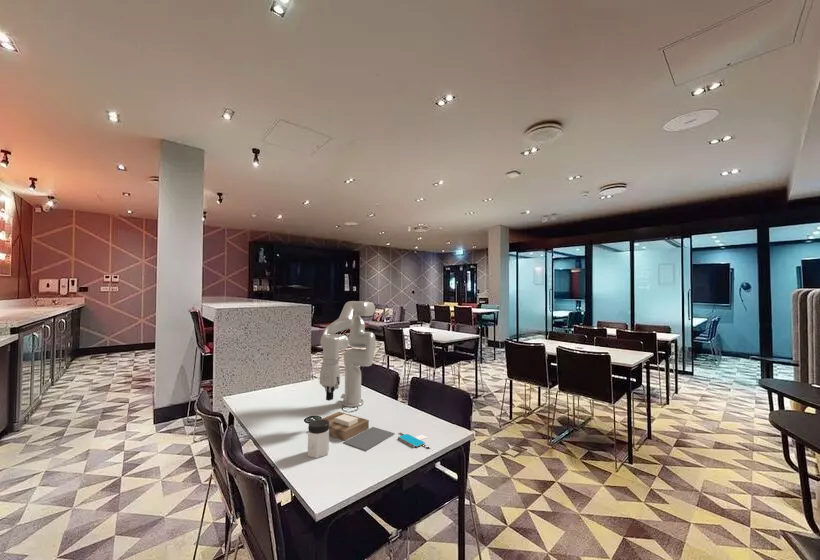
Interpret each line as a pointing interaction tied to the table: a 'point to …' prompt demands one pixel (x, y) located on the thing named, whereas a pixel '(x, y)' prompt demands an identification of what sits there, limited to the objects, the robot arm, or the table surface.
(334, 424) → the platform
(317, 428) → the jar
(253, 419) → the table surface
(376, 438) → the mat
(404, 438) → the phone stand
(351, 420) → the cream flat block
